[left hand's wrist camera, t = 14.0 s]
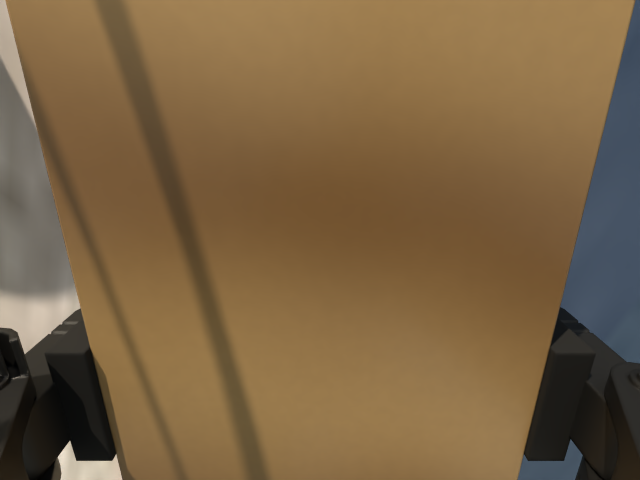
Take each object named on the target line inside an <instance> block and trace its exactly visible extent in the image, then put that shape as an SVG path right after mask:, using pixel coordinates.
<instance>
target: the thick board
mask: <svg viewBox="0 0 640 480" xmlns="http://www.w3.org/2000/svg"><path fill="white" fill-rule="evenodd" d="M6 4H7V8H8V12H9V17H10V21H11V25H12V29H13V33H14V37H15V41H16V45H17V49H18V53H19V57H20V62H21V66H22V70H23V74H24V78H25V82H26V86H27V90H28V94H29V98H30V102H31V107H32V111H33V115H34V119H35V123H36V127H37V131H38V135H39V139H40V143H41V147H42V152H43V156H44V160H45V164H46V168H47V172H48V176H49V180H50V184H51V188H52V192H53V197H54V201H55V205H56V209H57V213H58V217H59V221H60V225H61V229H62V233H63V237H64V242H65V246H66V250H67V254H68V258H69V262H70V266H71V270H72V274H73V278H74V283H75V287H76V291H77V295H78V299H79V303H80V307H81V311H82V315H83V319H84V323H85V328H86V332H87V336H88V340H89V344H90V348H91V352H92V356H93V360H94V364H95V368H96V373H97V377H98V381H99V385H100V389H101V393H102V397H103V401H104V405H105V409H106V413H107V418H108V422H109V426H110V430H111V434H112V438H113V442H114V446H115V450H116V454H117V458H118V463H119V467H120V471H121V475H122V479H123V480H518V475H519V471H520V467H521V463H522V459H523V455H524V451H525V447H526V443H527V439H528V435H529V431H530V427H531V423H532V419H533V415H534V410H535V406H536V402H537V398H538V394H539V390H540V386H541V382H542V378H543V374H544V370H545V366H546V362H547V358H548V354H549V350H550V345H551V341H552V337H553V333H554V329H555V325H556V321H557V317H558V313H559V309H560V305H561V301H562V297H563V293H564V289H565V285H566V280H567V276H568V272H569V268H570V264H571V260H572V256H573V252H574V248H575V244H576V240H577V236H578V232H579V228H580V224H581V220H582V215H583V211H584V207H585V203H586V199H587V195H588V191H589V187H590V183H591V179H592V175H593V171H594V167H595V163H596V159H597V155H598V150H599V146H600V142H601V138H602V134H603V130H604V126H605V122H606V118H607V114H608V110H609V106H610V102H611V98H612V94H613V90H614V85H615V81H616V77H617V73H618V69H619V65H620V61H621V57H622V53H623V49H624V45H625V41H626V37H627V33H628V29H629V25H630V20H631V16H632V12H633V8H634V4H635V0H6Z"/></svg>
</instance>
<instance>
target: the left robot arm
mask: <svg viewBox="0 0 640 480" xmlns="http://www.w3.org/2000/svg"><path fill="white" fill-rule="evenodd" d="M570 439H571V440H572V441H573V442H574V444H575V445H576V446H577V448H578V449H579V450H580V452H581V453H582V454H583V457H582V460H581V463H580V466H579V469H578V472H577V476H576V479H575V480H640V364H639V363H632V362H626V361H625V360H624V359H623V358H621V357H620V356H619V355H618V354H617V353H615V352H614V351H613V350H612V349H611V348H610V347H608V346H607V345H606V344H605V343H604V342H602V341H601V340H600V339H599V338H598V337H597V336H595V335H594V334H593V333H590V332H589V330H588V329H587V328H586V327H585V326H584V325H582V324H581V323H578V320H577V319H575V318H574V317H573V316H572V315H571V314H569V313H568V312H567V311H566V310H565V309H563V308H561V307H560V309H559V313H558V317H557V321H556V325H555V329H554V333H553V337H552V341H551V345H550V350H549V354H548V358H547V362H546V366H545V370H544V374H543V378H542V382H541V386H540V390H539V394H538V398H537V402H536V406H535V410H534V415H533V419H532V423H531V427H530V431H529V435H528V439H527V443H526V447H525V451H524V455H525V456H526V458H527V460H528V461H564V459H565V455H566V452H567V449H568V445H569V442H570ZM69 441H71V444H72V448H73V451H74V454H75V458H76V461H112V460H113V458H114V457H115V455H116V450H115V446H114V442H113V438H112V434H111V430H110V426H109V422H108V418H107V413H106V409H105V405H104V401H103V397H102V393H101V389H100V385H99V381H98V377H97V373H96V368H95V364H94V360H93V356H92V352H91V348H90V344H89V340H88V336H87V332H86V328H85V323H84V319H83V315H82V311H81V309H79V310H77V311H75V312H74V313H73V314H72V315H70V316H69V317H68V318H67V319H66V320H65V321H63V324H62V325H59V326H58V327H56V328H55V329H54V330H53V331H52V332H51V334H48V335H47V336H46V337H45V338H44V339H42V340H41V341H40V342H39V343H38V344H37V345H35V346H34V347H33V348H32V349H31V350H30V351H28V352H27V353H26V354H24V351H23V348H22V345H21V342H20V339H19V336H18V333H17V332H16V331H14V330H12V329H9V328H0V480H60V479H61V467H60V463H59V460H58V456H59V454H60V453H61V452H62V450H63V449H64V448H65V446H66V445H67V444H68V442H69Z"/></svg>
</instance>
